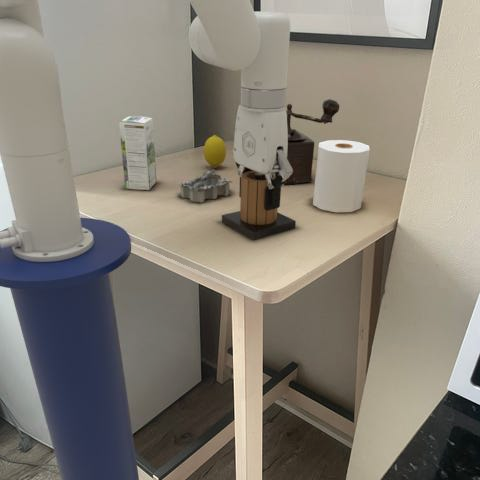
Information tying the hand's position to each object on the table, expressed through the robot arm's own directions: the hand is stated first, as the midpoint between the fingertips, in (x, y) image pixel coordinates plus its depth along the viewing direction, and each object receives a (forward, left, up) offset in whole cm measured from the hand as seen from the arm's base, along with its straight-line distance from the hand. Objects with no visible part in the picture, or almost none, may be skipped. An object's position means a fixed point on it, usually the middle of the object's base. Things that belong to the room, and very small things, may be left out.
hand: (259, 201), depth 92 cm
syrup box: (-8, +33, -5) cm, 34 cm away
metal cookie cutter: (+1, +20, -5) cm, 21 cm away
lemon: (+14, +36, -5) cm, 39 cm away
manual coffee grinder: (+26, +19, -5) cm, 33 cm away
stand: (0, 0, -5) cm, 5 cm away
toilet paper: (+21, 0, -5) cm, 22 cm away
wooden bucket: (0, 0, -3) cm, 3 cm away
